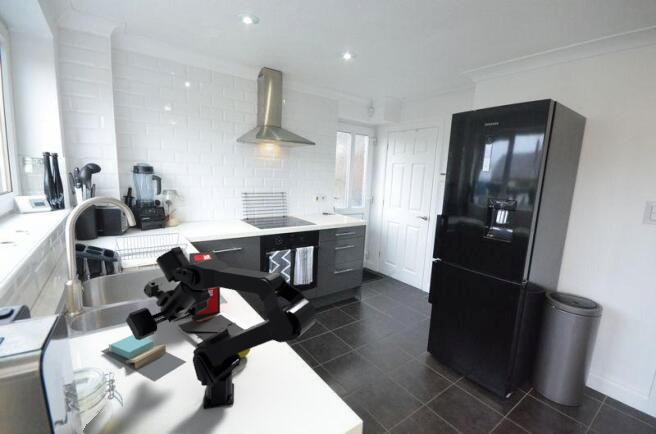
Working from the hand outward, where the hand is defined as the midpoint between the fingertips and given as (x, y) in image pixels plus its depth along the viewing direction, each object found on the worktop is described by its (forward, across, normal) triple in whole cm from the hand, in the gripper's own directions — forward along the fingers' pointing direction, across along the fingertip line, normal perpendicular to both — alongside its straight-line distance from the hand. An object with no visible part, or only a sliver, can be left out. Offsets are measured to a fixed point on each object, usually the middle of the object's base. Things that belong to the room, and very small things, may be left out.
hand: (157, 327), depth 77 cm
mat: (+13, 0, +3) cm, 13 cm away
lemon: (-3, -14, +19) cm, 24 cm away
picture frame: (+8, -19, +9) cm, 23 cm away
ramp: (+12, 0, +4) cm, 12 cm away
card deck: (+11, 0, +1) cm, 11 cm away
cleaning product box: (+20, -29, -4) cm, 36 cm away
